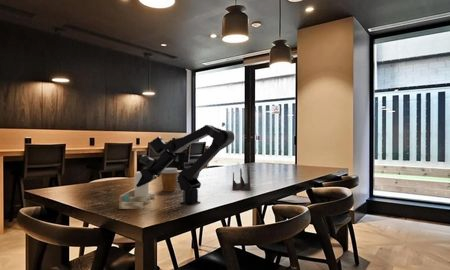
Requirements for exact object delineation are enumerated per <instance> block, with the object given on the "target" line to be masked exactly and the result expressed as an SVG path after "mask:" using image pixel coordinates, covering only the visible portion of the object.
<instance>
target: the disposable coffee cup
mask: <svg viewBox="0 0 450 270" xmlns="http://www.w3.org/2000/svg"><path fill="white" fill-rule="evenodd" d="M178 172H179V170H178V168H177V167H166V168H165V169H164V170H163V171H162V174H161V175H160V176H161V182H162V191H163V192H174V191H175V190H176V181H177V177H178V176H177V175H178Z"/></svg>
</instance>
